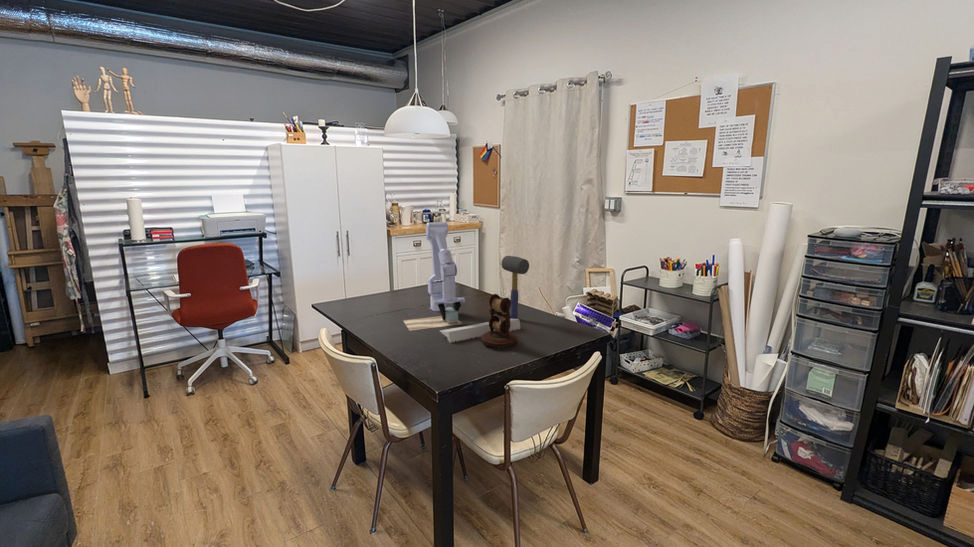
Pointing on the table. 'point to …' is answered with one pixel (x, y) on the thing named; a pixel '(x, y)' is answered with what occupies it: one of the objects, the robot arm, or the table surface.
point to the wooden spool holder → (499, 324)
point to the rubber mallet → (515, 278)
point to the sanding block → (451, 315)
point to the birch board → (427, 323)
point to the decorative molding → (474, 331)
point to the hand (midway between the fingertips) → (449, 318)
